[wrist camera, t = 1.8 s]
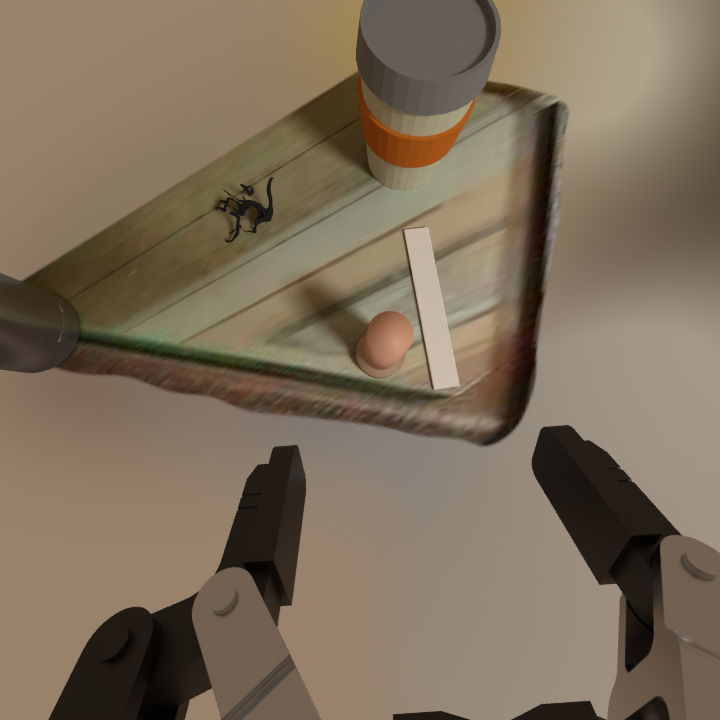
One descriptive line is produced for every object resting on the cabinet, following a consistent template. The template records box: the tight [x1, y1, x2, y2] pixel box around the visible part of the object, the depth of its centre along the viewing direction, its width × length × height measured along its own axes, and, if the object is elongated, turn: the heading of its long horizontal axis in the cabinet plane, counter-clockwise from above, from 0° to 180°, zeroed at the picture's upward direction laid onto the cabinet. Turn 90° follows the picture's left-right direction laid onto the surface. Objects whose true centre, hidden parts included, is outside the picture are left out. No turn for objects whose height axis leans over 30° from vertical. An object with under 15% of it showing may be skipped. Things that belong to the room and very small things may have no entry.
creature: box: [216, 177, 273, 242], centre depth 38 cm, size 8×5×8 cm
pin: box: [356, 311, 414, 378], centre depth 33 cm, size 6×6×10 cm
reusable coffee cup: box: [356, 0, 501, 191], centre depth 35 cm, size 13×12×15 cm
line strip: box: [404, 227, 460, 390], centre depth 39 cm, size 3×20×1 cm, turn 8°
